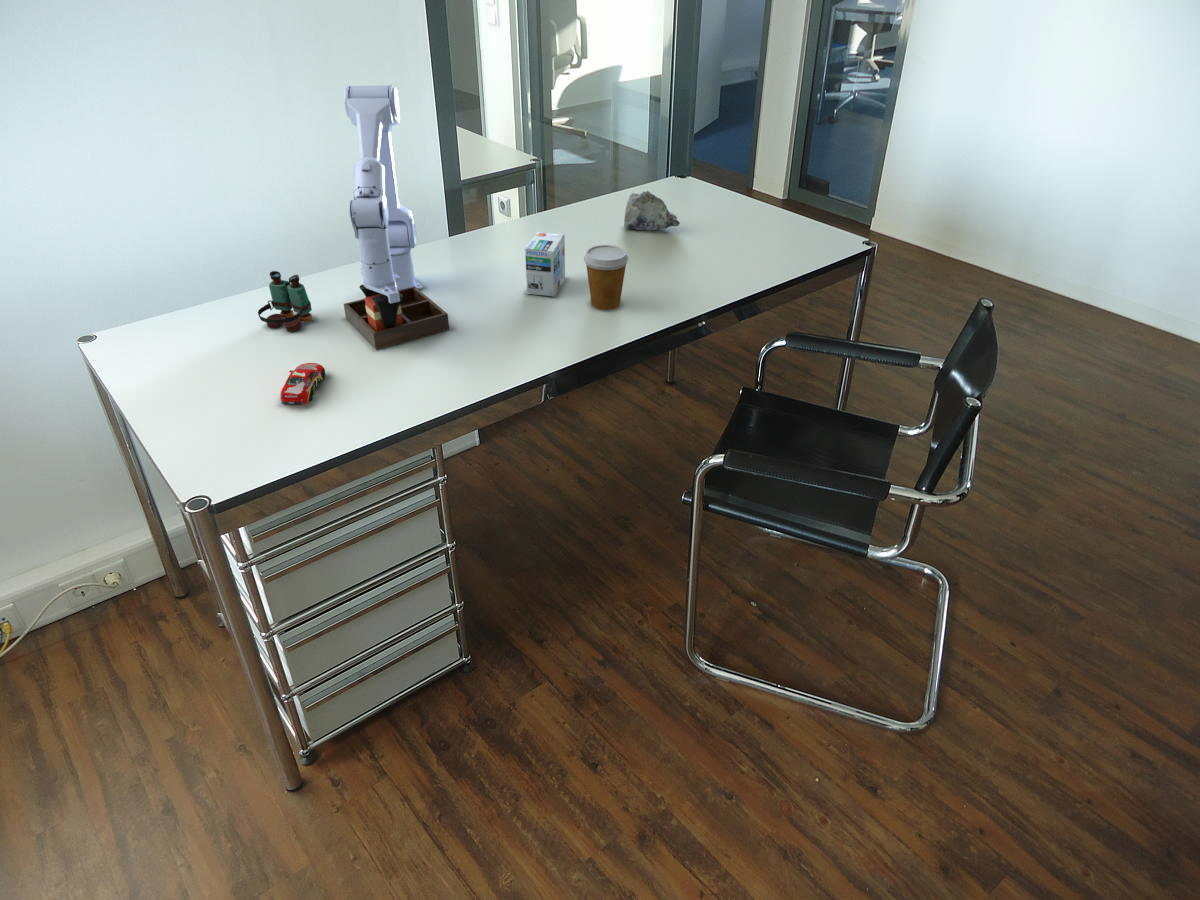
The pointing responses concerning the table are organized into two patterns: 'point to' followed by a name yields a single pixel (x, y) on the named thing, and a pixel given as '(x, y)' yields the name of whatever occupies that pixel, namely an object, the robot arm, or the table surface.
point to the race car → (302, 384)
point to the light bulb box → (545, 264)
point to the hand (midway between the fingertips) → (385, 322)
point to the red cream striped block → (378, 315)
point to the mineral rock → (648, 213)
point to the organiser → (416, 317)
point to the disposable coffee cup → (605, 275)
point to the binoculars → (287, 303)
